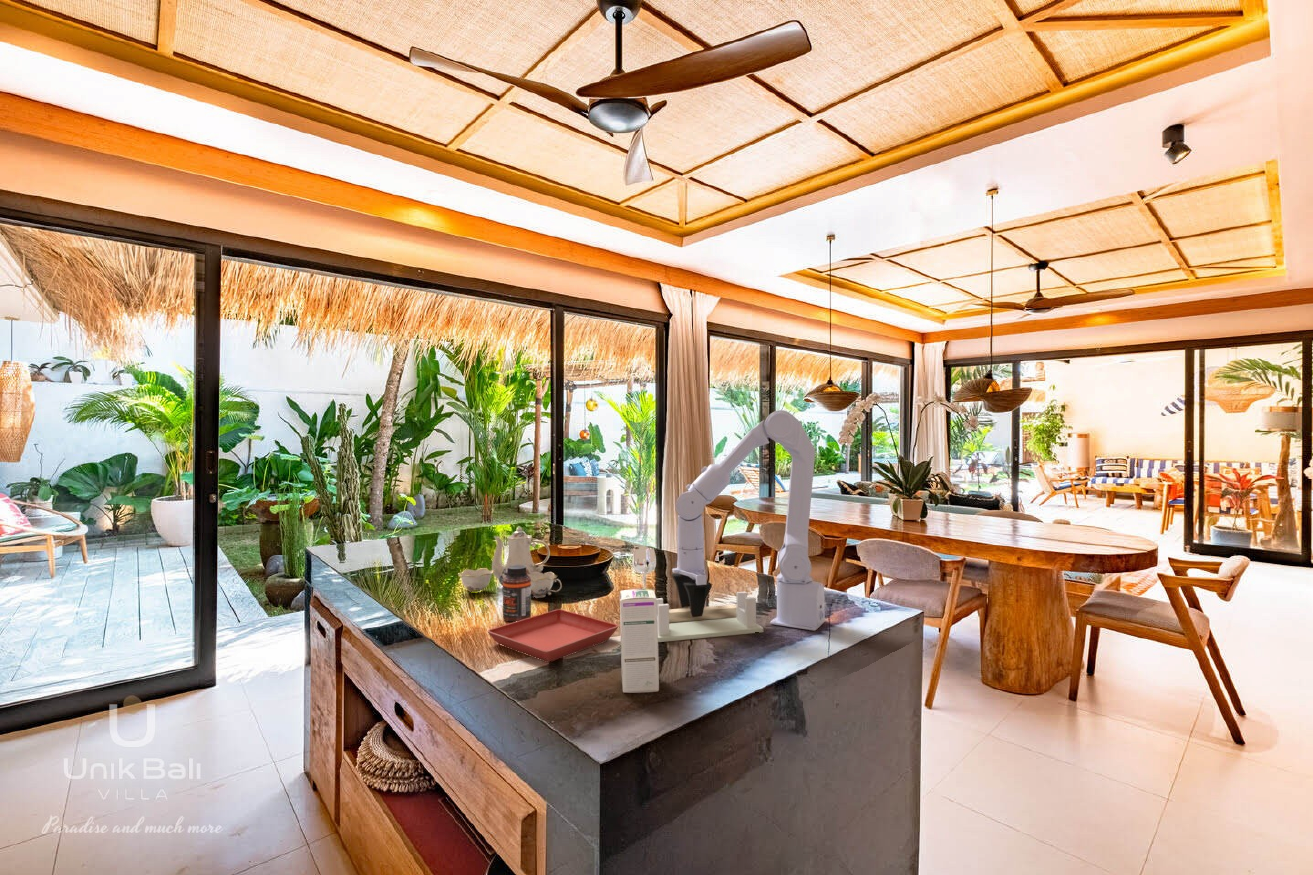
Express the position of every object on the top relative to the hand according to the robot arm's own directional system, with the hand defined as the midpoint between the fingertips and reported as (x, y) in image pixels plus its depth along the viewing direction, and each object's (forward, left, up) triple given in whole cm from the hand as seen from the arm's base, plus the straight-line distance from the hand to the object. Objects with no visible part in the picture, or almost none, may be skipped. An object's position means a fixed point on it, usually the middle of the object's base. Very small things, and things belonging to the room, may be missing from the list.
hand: (691, 611), depth 131 cm
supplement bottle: (+33, +18, -2) cm, 38 cm away
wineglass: (+18, -10, -2) cm, 21 cm away
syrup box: (-9, +35, -2) cm, 36 cm away
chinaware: (+51, 0, -2) cm, 51 cm away
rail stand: (-6, +6, -2) cm, 9 cm away
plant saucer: (+16, +26, -2) cm, 31 cm away
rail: (0, 0, -2) cm, 2 cm away
